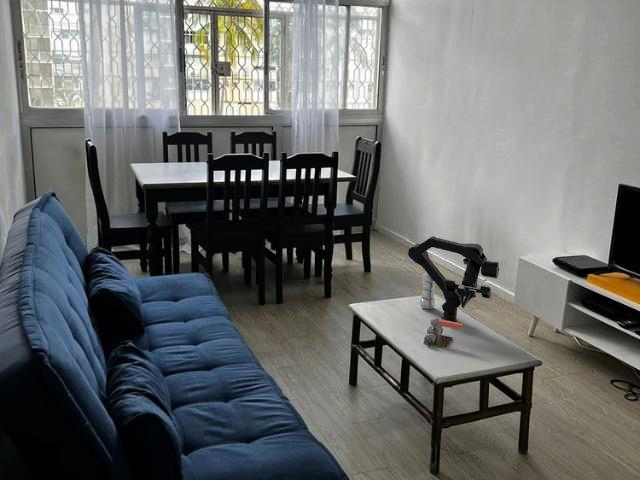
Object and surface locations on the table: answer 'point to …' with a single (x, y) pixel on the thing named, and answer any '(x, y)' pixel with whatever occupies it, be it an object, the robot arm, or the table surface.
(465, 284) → the robot arm
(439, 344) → the valve
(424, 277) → the plastic bottle
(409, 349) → the table surface
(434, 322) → the lever
